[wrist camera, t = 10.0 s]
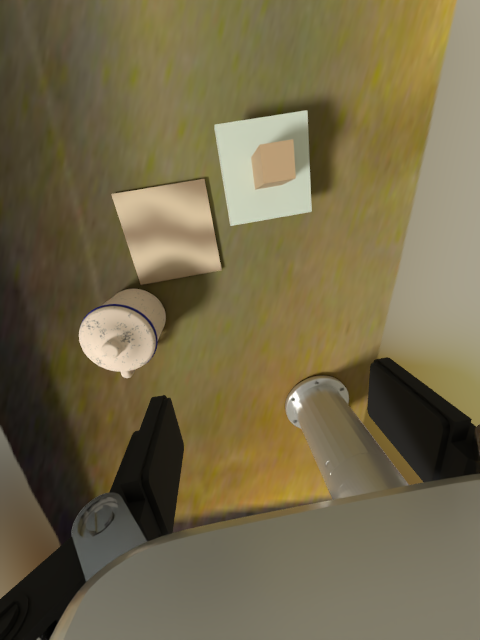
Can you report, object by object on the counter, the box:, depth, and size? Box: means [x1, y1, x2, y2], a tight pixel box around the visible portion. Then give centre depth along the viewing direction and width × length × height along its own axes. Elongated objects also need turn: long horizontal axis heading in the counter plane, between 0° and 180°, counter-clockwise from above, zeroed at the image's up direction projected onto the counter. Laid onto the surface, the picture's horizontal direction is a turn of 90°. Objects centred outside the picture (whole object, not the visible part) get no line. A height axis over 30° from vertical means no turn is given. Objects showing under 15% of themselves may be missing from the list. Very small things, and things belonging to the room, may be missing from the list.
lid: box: [215, 110, 312, 226], centre depth 26 cm, size 10×10×6 cm
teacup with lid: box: [79, 289, 166, 378], centre depth 33 cm, size 12×9×12 cm
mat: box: [111, 179, 222, 285], centre depth 34 cm, size 12×12×1 cm
